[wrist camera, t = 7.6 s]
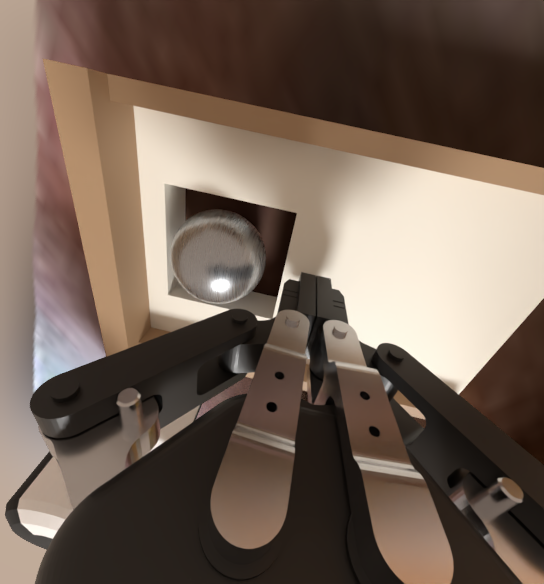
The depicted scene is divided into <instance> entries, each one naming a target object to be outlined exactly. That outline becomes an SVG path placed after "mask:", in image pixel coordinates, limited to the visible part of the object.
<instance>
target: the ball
mask: <svg viewBox="0 0 544 584" xmlns="http://www.w3.org/2000/svg"><path fill="white" fill-rule="evenodd" d="M170 260H171V266H172V270H173V272H174V275H175V277H176V279H177V280H178V282H179V284H180V285H181V286H182V287H183V288H184V289H185V290H186V291H187V292H188V293H189V294H191V295H192V296H194V297H195V298H197V299H199V300H202V301H205V302H208V303H213V304H224V303H230V302H234V301H237V300H239V299H241V298H243V297H245V296H246V295H248V294H249V293H250V292H251V291H252V290H253V289H254V288H255V287H256V286H257V284H258V283H259V281H260V280H261V278H262V275H263V273H264V269H265V265H266V251H265V246H264V243H263V240H262V238H261V236H260V234H259V232H258V231H257V229H256V228H255V227H254V226H253V225H252V224H251V222H249V221H248V220H247V219H246V218H244V217H243V216H241V215H239V214H237V213H235V212H231V211H228V210H222V209H212V210H206V211H202V212H200V213H197V214H195V215H193V216H192V217H190V218H189V219H187V220H186V221H185V222H184V223H183V224H182V225H181V226H180V228H179V229H178V231H177V232H176V234H175V236H174V239H173V241H172V245H171V251H170Z"/></svg>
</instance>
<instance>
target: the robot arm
mask: <svg viewBox="0 0 544 584" xmlns="http://www.w3.org/2000/svg"><path fill="white" fill-rule="evenodd" d="M307 359H310V364H309V366H308V369H307V373H306V375H307V392H308V402H307V401H305V400H303V399H301V395H302V388H303V381H304V374H305V367H306V360H307ZM252 372H255V373H254V376H253V379H252V382H251V385H250V388H249V390H248V393H247V394H242V395H237V396H234V397H232V398H229V399H227V400H225V401H223V402H221V403H220V404H218V405H217V406H215V407H214V408H212V409H211V410H209V411H208V412H207V413H205V414H204V415H202V416H201V417H199V418H198V419H197V420H195V421H194V422H192V423H191V424H189V425H188V426H186V427H185V428H184V429H182V430H181V431H179V432H178V433H176V434H175V435H173V436H172V437H171V438H169V439H168V440H166V441H165V442H163V443H162V444H161V445H159V446H158V447H156V448H155V449H153V448H154V446H155V445H156V443H157V441H158V440H159V437H160V429H162V428H163V427H165V426H167V425H168V424H170V423H171V422H173V421H175V420H176V419H178V418H180V417H181V416H183V415H184V414H186V413H188V412H189V411H191V410H193V409H194V408H196V407H198V406H199V405H201V404H202V403H204V402H206V401H207V400H209V399H211V398H212V397H214V396H215V395H217V394H219V393H220V392H222V391H224V390H225V389H227V388H229V387H230V386H232V385H233V384H235V383H237V382H238V381H240V380H242V379H243V378H244V377H245V376H246V375H247V373H252ZM398 390H399V391H400V392H401V393H402V394H403V395H404V396H405V397H406V398H407V399H408V400H409V401H410V402H411V403H412V404H413V405H414V406H415V407H416V408H417V409H418V410H419V411H420V412H421V413H422V414H423V415H424V417H425V419H426V427H425V429H424V428H423V427H421V426H420V425H419V424H418V423H417V422H416V421H415V420H414V419H413V418H412V417H411V416H410V415H409V413H408V412H407V411H406V410H405V409H404V408H403V407H402V406H401V405H400V404H399V403H398V402H397V401H396V400H395V399H394V398H393V397H394V396H395V394H396V393H397V391H398ZM30 408H31V411H32V413H33V415H34V417H35V419H36V421H37V423H38V425H39V426H38V428H39V432H40V433H41V435H42V437H43V439H44V441H45V443H46V445H47V447H48V449H49V451H50V453H51V455H52V456H53V457H54V458H55V459H56V460H57V462H58V464H59V466H60V469H61V472H62V475H63V479H64V482H65V485H66V488H67V492H68V495H69V498H70V502H71V505H72V508H73V511H72V512H71V513H70V514H69V516H68V517H67V518H66V520H65V521H64V522H63V524H62V525H61V526H60V528H59V529H58V531H57V532H56V534H55V536H54V537H53V539H52V541H51V543H50V545H49V547H48V549H47V551H46V553H45V555H44V557H43V560H42V562H41V565H40V568H39V571H38V574H37V578H36V581H35V584H544V465H543V464H542V463H541V462H539V461H538V460H537V459H536V458H534V457H533V456H532V455H531V454H530V453H528V452H527V451H526V450H525V449H524V448H522V447H521V446H520V445H519V444H518V443H516V442H515V441H514V440H513V439H512V438H510V437H509V436H508V435H507V434H506V433H504V432H503V431H502V430H501V429H499V428H498V427H497V426H496V425H495V424H493V423H492V422H491V421H490V420H489V419H487V418H486V417H485V416H484V415H483V414H481V413H480V412H479V411H478V410H477V409H475V408H474V407H473V406H472V405H471V404H469V403H468V402H467V401H466V400H465V399H463V398H462V397H461V396H460V395H458V394H457V393H456V392H455V391H454V390H452V389H451V388H450V387H449V386H448V385H446V384H445V383H444V382H443V381H442V380H440V379H439V378H438V377H437V376H436V375H434V374H433V373H432V372H431V371H430V370H428V369H427V368H426V367H425V366H423V365H422V364H421V363H420V362H419V361H417V360H416V359H415V358H414V357H413V356H411V355H410V354H409V353H408V352H407V351H405V350H404V349H402V348H401V347H399V346H397V345H394V344H390V343H382V344H380V345H378V347H377V349H375V348H373V347H371V346H368V345H366V344H364V343H362V342H361V341H359V340H358V336H357V333H356V331H355V330H354V329H353V328H352V327H351V326H350V325H349V324H348V318H347V312H346V306H345V300H344V296H343V295H342V294H341V292H340V291H339V290H336V289H332V285H331V279H330V278H326V277H322V276H317V275H313V274H308V273H304V272H301V275H300V278H299V281H296V280H291V279H289V280H288V281H286V282H285V283H284V287H283V291H282V295H281V299H280V304H279V308H278V313H277V315H276V317H274V318H272V319H269V320H257V318H256V316H255V315H254V314H253V313H251V312H250V311H247V310H244V309H230V310H227V311H225V312H222V313H220V314H217V315H214V316H212V317H209V318H206V319H204V320H201V321H199V322H196V323H193V324H191V325H188V326H185V327H183V328H180V329H178V330H175V331H172V332H170V333H167V334H164V335H162V336H159V337H157V338H154V339H151V340H149V341H146V342H144V343H141V344H138V345H136V346H133V347H130V348H128V349H125V350H123V351H120V352H117V353H115V354H112V355H109V356H107V357H104V358H102V359H99V360H96V361H94V362H91V363H89V364H86V365H83V366H81V367H78V368H75V369H73V370H70V371H68V372H65V373H62V374H60V375H57V376H55V377H53V378H51V379H49V380H48V381H46V382H45V383H43V384H42V385H41V386H40V387H39V388H38V389H37V390H36V391H35V393H34V394H33V396H32V398H31V401H30ZM152 449H153V450H152ZM151 450H152V451H151ZM148 452H149V453H148ZM147 453H148V454H147Z"/></svg>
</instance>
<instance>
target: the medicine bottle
mask: <svg viewBox="0 0 544 584" xmlns="http://www.w3.org/2000/svg"><path fill="white" fill-rule="evenodd" d="M201 405H202V404H201ZM201 405H199V406H198V407H196V408H194V409H193V410H191V411H189V412H188V413H186V414H184V415H183V416H181V417H180V418H178V419H176V420H175V421H173V422H171V423H170V424H168V425H167V426H165V427H163V428H162V429H160V437H159V440H158V441H157V443H156V445H155V446H154V448H153V449H155V448H156V447H158V446H159V445H161V444H162V443H163V442H165V441H166V440H168V439H169V438H171V437H172V436H173V435H175V434H176V433H178V432H179V431H181V430H182V429H184V428H185V427H186V426H188V425H189V424H191V423H192V422H194V421H195V420H196V417H197V415H198V412H199V410H200V408H201ZM153 449H152V450H153ZM152 450H151V451H152ZM148 453H149V452H148ZM148 453H147V454H148ZM72 511H73V508H72V505H71V502H70V498H69V495H68V492H67V488H66V485H65V482H64V479H63V475H62V472H61V469H60V466H59V464H58V462H57V460H56V459H55V458H54V457H53V456H52V455H51V453H50V451H49V453H48V454H47V455H46V456H45V458H44V459H43V460H42V461H41V462H40V464H39V465H38V466H37V467H36V469H35V470H34V471H33V472H32V473H31V475H30V476H29V477H28V478H27V479H26V481H25V482H24V483H23V484H22V486H21V487H20V488H19V489H18V490H17V492H16V493H15V494H14V495H13V496H12V498H11V499H10V500H9V502H8V503H7V505H6V512H5V516H6V519H7V521H8V523H9V525H10V527H11V529H12V530H13V531H14V532H15V533H16V534H17V535H18V536H20V537H21V538H23V539H24V540H26V541H28V542H30V543H32V544H34V545H37V546H39V547H41V548H44V549H48V547H49V545H50V543H51V541H52V539H53V537H54V536H55V534H56V532H57V531H58V529H59V528H60V526H61V525H62V524H63V522H64V521H65V520H66V518H67V517H68V516H69V514H70V513H71V512H72Z"/></svg>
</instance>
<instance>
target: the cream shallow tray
mask: <svg viewBox="0 0 544 584" xmlns="http://www.w3.org/2000/svg"><path fill="white" fill-rule="evenodd" d="M43 62H44V67H45V71H46V76H47V81H48V85H49V90H50V95H51V99H52V104H53V109H54V114H55V118H56V123H57V128H58V132H59V137H60V142H61V146H62V151H63V156H64V160H65V165H66V170H67V174H68V179H69V184H70V189H71V193H72V198H73V203H74V207H75V212H76V217H77V221H78V226H79V231H80V235H81V240H82V245H83V250H84V254H85V259H86V264H87V268H88V273H89V278H90V282H91V287H92V292H93V296H94V301H95V306H96V310H97V315H98V320H99V325H100V329H101V334H102V339H103V343H104V348H105V353H106V357H107V356H109V355H112V354H115V353H117V352H120V351H123V350H125V349H128V348H130V347H133V346H136V345H138V344H141V343H144V342H146V341H149V340H151V339H154V338H157V337H159V336H162V335H164V334H167V333H170V332H172V331H175V330H178V329H180V328H183V327H185V326H188V325H191V324H193V323H196V322H199V321H201V320H204V319H206V318H209V317H212V316H214V315H217V314H220V313H222V312H225V311H227V310H230V309H244V310H247V311H250V312H251V313H253V314H254V315H255V316H256V318H257V320H269V319H272V318H274V317H276V315H277V313H278V308H279V304H280V299H281V295H282V291H283V287H284V283H285V282H286V281H288V280H289V279H291V280H296V281H299V278H300V275H301V272H304V273H308V274H313V275H317V276H322V277H326V278H330V279H331V285H332V289H336V290H339V291H340V292H341V294H342V295H343V296H344V300H345V306H346V312H347V318H348V324H349V325H350V326H351V327H352V328H353V329H354V330H355V331H356V333H357V336H358V340H359V341H361V342H362V343H364V344H366V345H368V346H371V347H373V348H375V349H377V347H378V345H380V344H382V343H390V344H394V345H397V346H399V347H401V348H402V349H404V350H405V351H407V352H408V353H409V354H410V355H411V356H413V357H414V358H415V359H416V360H417V361H419V362H420V363H421V364H422V365H423V366H425V367H426V368H427V369H428V370H430V371H431V372H432V373H433V374H434V375H436V376H437V377H438V378H439V379H440V380H442V381H443V382H444V383H445V384H446V385H448V386H449V387H450V388H451V389H452V390H454V391H455V392H456V393H457V394H458V395H459V394H460V392H461V391H462V390H463V389H464V388H465V387H466V386H467V384H468V383H469V382H470V381H471V380H472V379H473V378H474V377H475V375H476V374H477V373H478V372H479V371H480V370H481V369H482V367H483V366H484V365H485V364H486V363H487V362H488V361H489V360H490V358H491V357H492V356H493V355H494V354H495V353H496V352H497V350H498V349H499V348H500V347H501V346H502V345H503V344H504V343H505V341H506V340H507V339H508V338H509V337H510V336H511V335H512V333H513V332H514V331H515V330H516V329H517V328H518V327H519V326H520V324H521V323H522V322H523V321H524V320H525V319H526V318H527V316H528V315H529V314H530V313H531V312H532V311H533V310H534V309H535V307H536V306H537V305H538V304H539V303H540V302H541V301H542V299H543V298H544V168H541V167H537V166H532V165H527V164H523V163H518V162H514V161H509V160H504V159H500V158H495V157H490V156H486V155H481V154H477V153H472V152H467V151H463V150H458V149H453V148H449V147H444V146H440V145H435V144H430V143H426V142H421V141H416V140H412V139H407V138H403V137H398V136H393V135H389V134H384V133H380V132H375V131H370V130H366V129H361V128H356V127H352V126H347V125H343V124H338V123H333V122H329V121H324V120H319V119H315V118H310V117H306V116H301V115H296V114H292V113H287V112H282V111H278V110H273V109H269V108H264V107H259V106H255V105H250V104H246V103H241V102H236V101H232V100H227V99H222V98H218V97H213V96H209V95H204V94H199V93H195V92H190V91H185V90H181V89H176V88H172V87H167V86H162V85H158V84H153V83H148V82H144V81H139V80H135V79H130V78H125V77H121V76H116V75H112V74H107V73H103V72H99V71H96V70H92V69H88V68H84V67H79V66H75V65H70V64H65V63H61V62H56V61H51V60H47V59H43ZM186 188H187V189H192V190H196V191H201V192H205V193H210V194H214V195H218V196H223V197H227V198H232V199H236V200H241V201H245V202H250V203H254V204H259V205H263V206H268V207H272V208H277V209H281V210H285V211H290V212H294V213H297V215H296V219H295V224H294V228H293V232H292V236H291V241H290V245H289V249H288V254H287V258H286V262H285V266H284V271H283V275H282V279H281V284H280V288H279V292H278V297H274V296H270V295H265V294H261V293H257V292H252V291H251V292H250V293H249V294H248V295H246V296H245V297H243V298H241V299H239V300H237V301H234V302H230V303H224V304H213V303H208V302H205V301H202V300H199V299H197V298H195V297H194V296H192V295H191V294H189V293H188V292H187V291H186V290H185V289H184V288H183V287H182V286H181V285H180V284H179V282H178V280H177V279H176V277H175V275H174V272H173V270H172V266H171V260H170V251H171V245H172V241H173V239H174V236H175V234H176V232H177V231H178V229H179V228H180V226H181V225H182V224H183V223H184V222H185V208H186ZM309 364H310V359H307V360H306V367H305V374H304V381H303V388H302V390H304V391H307V375H306V373H307V369H308V366H309ZM254 373H255V372H252V373H247V375H246V376H245V377H249V378H253V376H254ZM393 398H394V399H395V400H396V401H397V402H398V403H399V404H400V405H401V406H402V407H403V408H404V409H405V410H406V411H407V412H408V413H409V415H410V416H413V417H418V418H422V419H425V417H424V415H423V414H422V413H421V412H420V411H419V410H418V409H417V408H416V407H415V406H414V405H413V404H412V403H411V402H410V401H409V400H408V399H407V398H406V397H405V396H404V395H403V394H402V393H401V392H400V391H399V390H398V391H397V393H396V394H395V396H394V397H393Z"/></svg>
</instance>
